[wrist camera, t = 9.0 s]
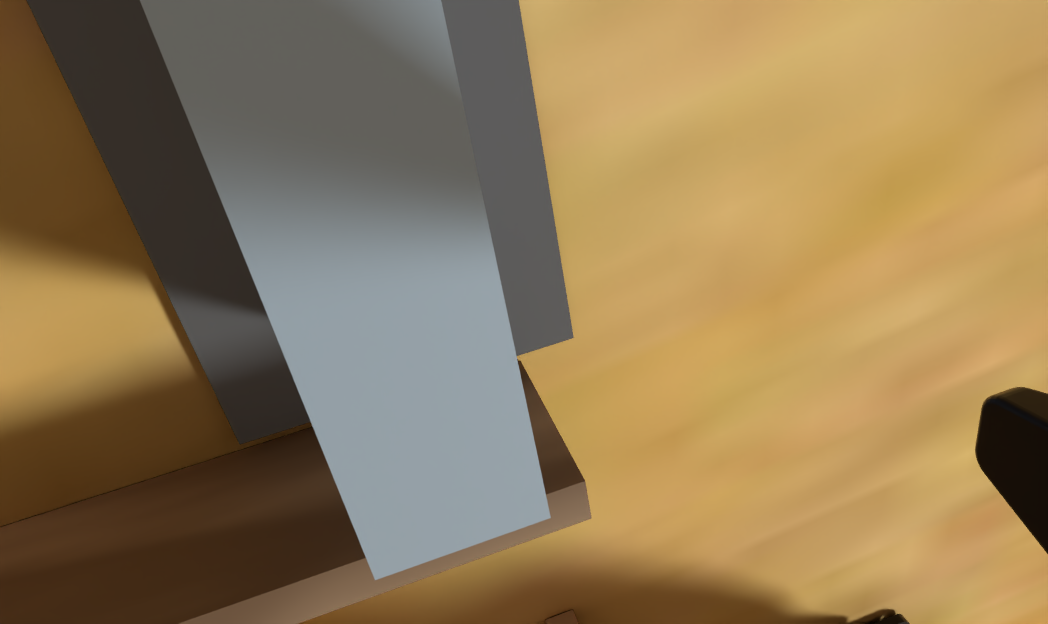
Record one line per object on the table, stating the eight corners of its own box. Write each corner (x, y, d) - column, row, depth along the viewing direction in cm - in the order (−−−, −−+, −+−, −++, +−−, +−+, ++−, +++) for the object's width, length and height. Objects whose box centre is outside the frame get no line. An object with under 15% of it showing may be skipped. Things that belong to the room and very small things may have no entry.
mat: (569, 332, 22) (573, 337, 22) (239, 437, 21) (239, 444, 20) (440, -451, 14) (444, -456, 13) (-142, -364, 12) (-150, -367, 12)
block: (447, 293, 20) (551, 518, 14) (328, 329, 20) (374, 580, 13) (312, -236, 14) (378, -296, 8) (136, -203, 14) (44, -236, 7)
